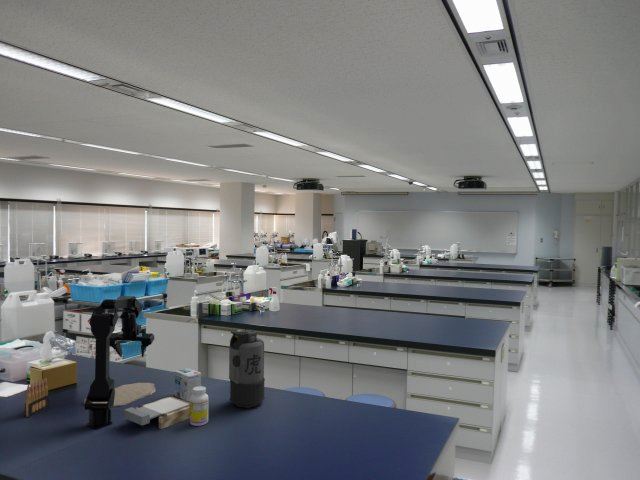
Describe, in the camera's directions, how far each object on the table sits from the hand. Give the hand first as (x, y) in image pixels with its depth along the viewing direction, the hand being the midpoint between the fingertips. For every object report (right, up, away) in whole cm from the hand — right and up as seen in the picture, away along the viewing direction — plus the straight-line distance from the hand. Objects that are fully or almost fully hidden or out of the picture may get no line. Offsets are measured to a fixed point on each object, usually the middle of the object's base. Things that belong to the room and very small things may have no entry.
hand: (132, 356), depth 208 cm
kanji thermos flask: (+51, -17, -11) cm, 55 cm away
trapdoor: (+21, -14, -29) cm, 39 cm away
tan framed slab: (+23, -16, -26) cm, 39 cm away
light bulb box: (+25, -16, -4) cm, 30 cm away
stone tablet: (-1, -16, -5) cm, 17 cm away
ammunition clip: (-28, -16, -23) cm, 39 cm away
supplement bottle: (+37, -17, -31) cm, 51 cm away
